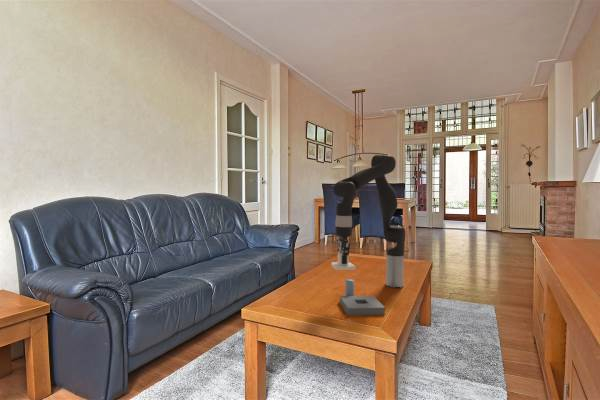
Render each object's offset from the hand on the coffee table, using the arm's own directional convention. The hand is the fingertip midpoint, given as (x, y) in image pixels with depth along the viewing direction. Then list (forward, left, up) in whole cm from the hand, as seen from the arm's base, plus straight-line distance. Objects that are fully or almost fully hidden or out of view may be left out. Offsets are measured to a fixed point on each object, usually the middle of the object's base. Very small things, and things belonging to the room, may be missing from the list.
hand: (342, 262), depth 151 cm
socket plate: (+5, +8, -20) cm, 21 cm away
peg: (-8, +6, -20) cm, 22 cm away
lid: (0, 0, -2) cm, 2 cm away
